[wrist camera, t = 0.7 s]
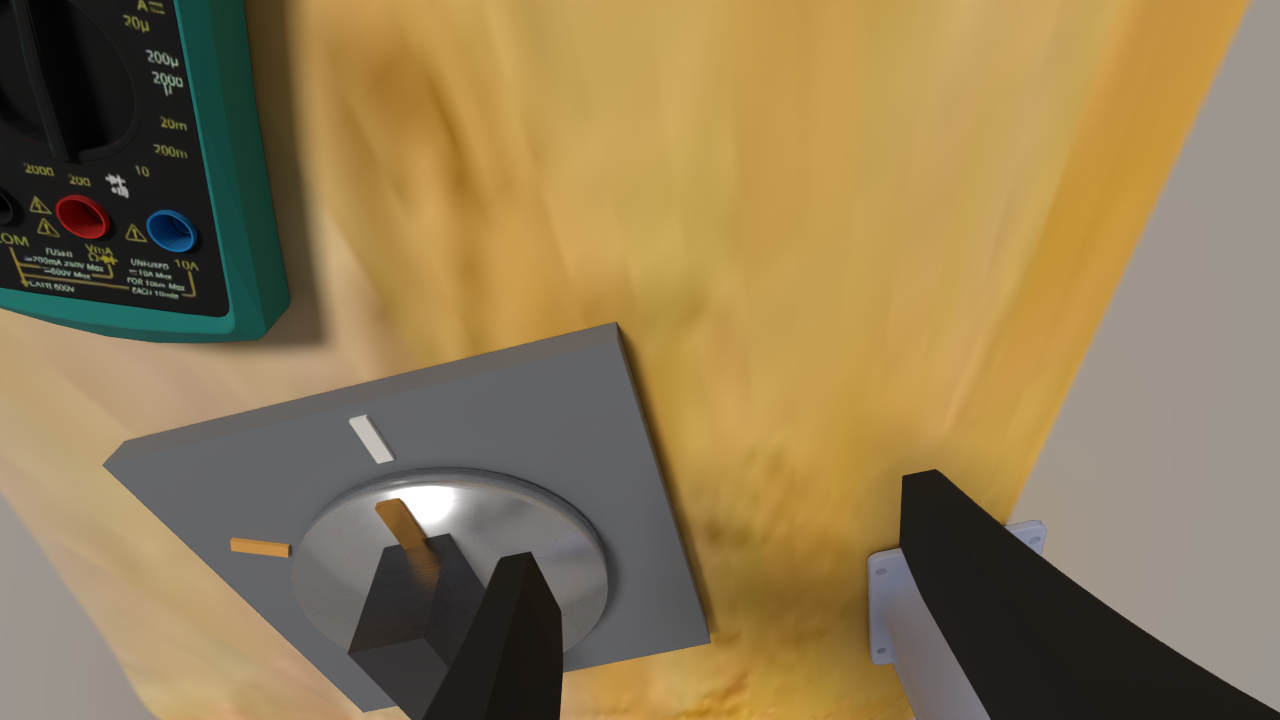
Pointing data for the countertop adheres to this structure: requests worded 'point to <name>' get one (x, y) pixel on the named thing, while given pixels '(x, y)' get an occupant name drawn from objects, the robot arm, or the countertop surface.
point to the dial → (436, 569)
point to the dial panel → (426, 438)
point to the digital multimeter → (135, 171)
